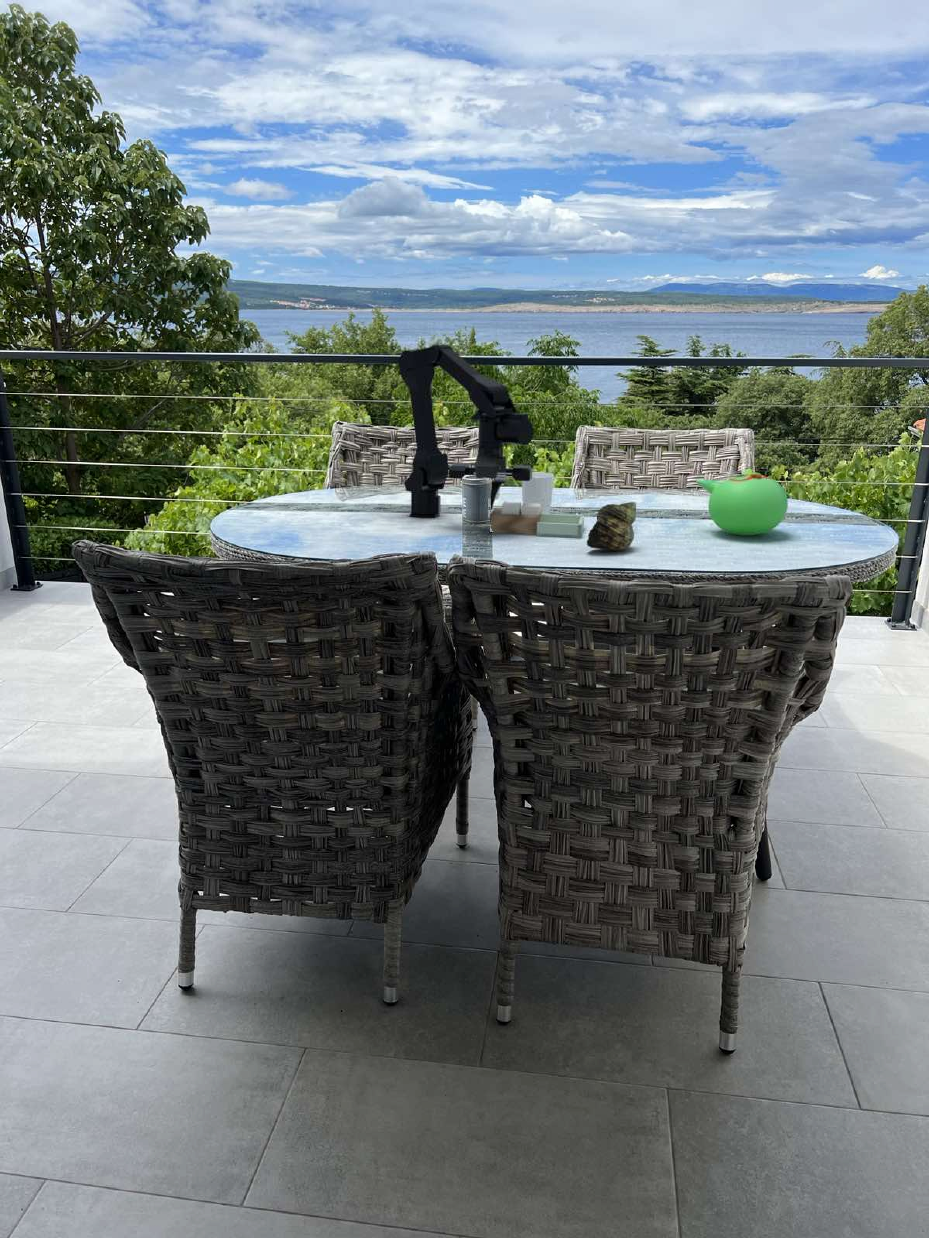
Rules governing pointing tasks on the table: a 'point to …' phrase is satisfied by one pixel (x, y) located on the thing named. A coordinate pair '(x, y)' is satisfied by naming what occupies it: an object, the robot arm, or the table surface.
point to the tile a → (511, 508)
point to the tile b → (531, 509)
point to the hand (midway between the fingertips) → (489, 509)
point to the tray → (560, 525)
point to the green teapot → (746, 503)
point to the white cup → (539, 490)
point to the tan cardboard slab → (513, 523)
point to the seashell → (613, 527)
